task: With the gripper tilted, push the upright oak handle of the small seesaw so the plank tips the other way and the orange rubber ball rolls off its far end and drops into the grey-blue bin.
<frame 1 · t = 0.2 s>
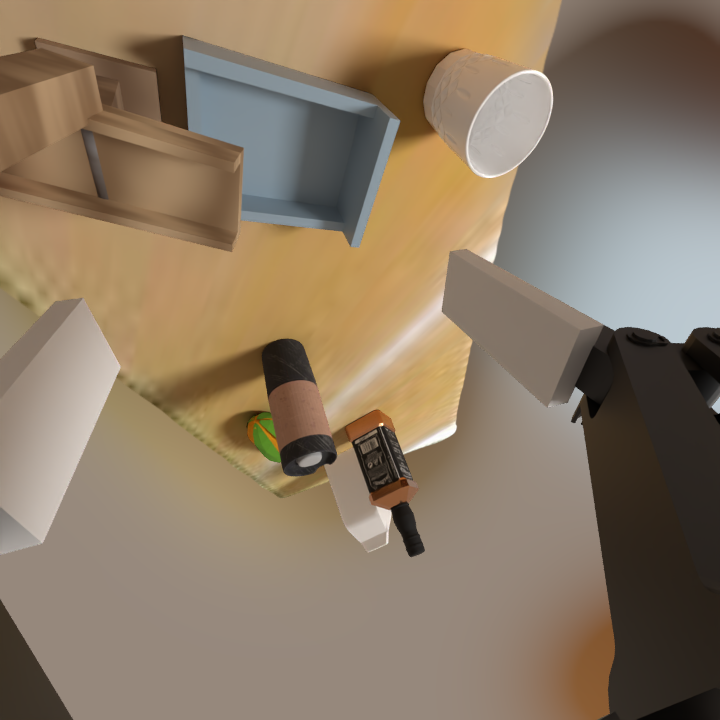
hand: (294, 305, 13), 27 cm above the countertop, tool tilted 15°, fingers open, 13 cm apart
whiskey bottle: (367, 422, 90), on the countertop
corn: (271, 424, 75), on the countertop
fulcrum: (111, 110, 27), on the countertop
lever: (42, 176, 18), point 14 cm above the countertop, hinge at -18.1°, touching ball
milk: (348, 457, 105), on the countertop
travel mug: (283, 352, 57), on the countertop
white cup: (452, 92, 34), on the countertop
bin: (279, 145, 33), on the countertop
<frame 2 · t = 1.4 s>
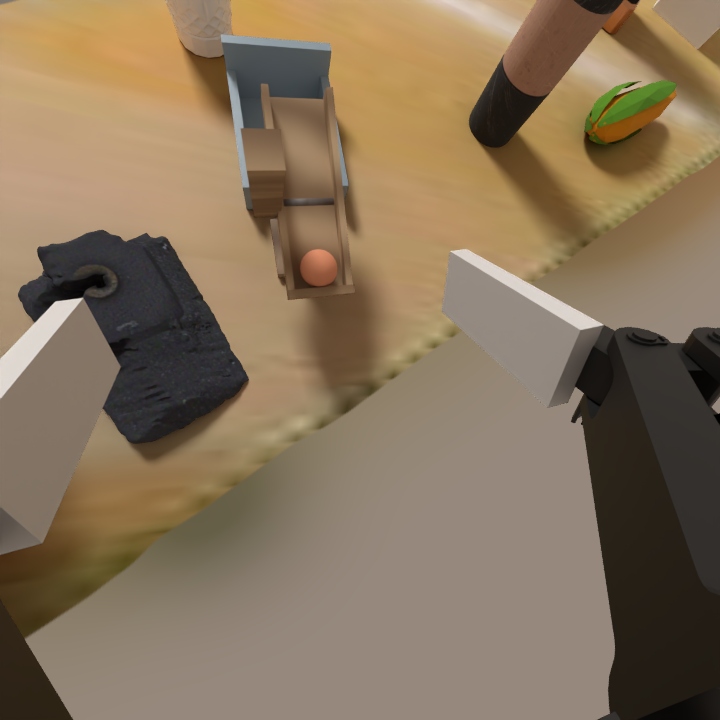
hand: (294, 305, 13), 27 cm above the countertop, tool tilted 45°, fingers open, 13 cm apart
whiskey bottle: (599, 5, 62), on the countertop
ball: (318, 268, 32), point 9 cm above the countertop, tilted 15°, touching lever
corn: (612, 126, 58), on the countertop
fulcrum: (303, 248, 42), on the countertop
dark slate chunk: (144, 336, 37), on the countertop
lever: (305, 183, 28), point 14 cm above the countertop, hinge at -18.1°, touching ball
milk: (682, 15, 67), on the countertop
travel mug: (489, 128, 52), on the countertop
white cup: (206, 38, 44), on the countertop
bin: (287, 150, 43), on the countertop
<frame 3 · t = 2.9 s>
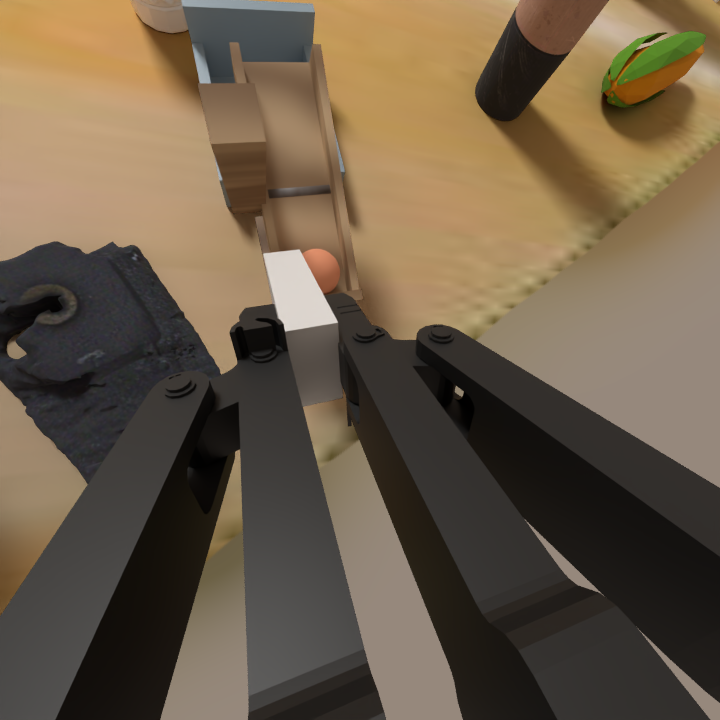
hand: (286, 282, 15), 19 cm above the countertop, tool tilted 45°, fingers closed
ball: (317, 272, 26), point 9 cm above the countertop, tilted 15°, touching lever
corn: (631, 89, 52), on the countertop
dark slate chunk: (116, 366, 31), on the countertop
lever: (293, 165, 22), point 14 cm above the countertop, hinge at -18.1°, touching ball
travel mug: (498, 99, 45), on the countertop
white cup: (167, 11, 38), on the countertop
bin: (270, 136, 37), on the countertop
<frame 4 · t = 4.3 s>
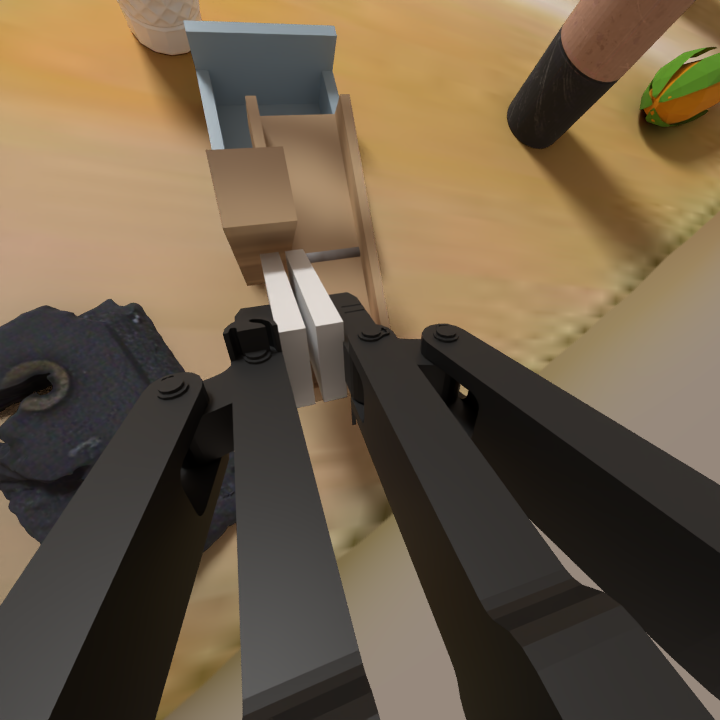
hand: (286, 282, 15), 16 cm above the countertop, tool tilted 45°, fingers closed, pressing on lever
corn: (671, 107, 47), on the countertop
dark slate chunk: (114, 444, 27), on the countertop
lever: (322, 234, 18), point 14 cm above the countertop, hinge at -12.4°, touching ball, gripper
travel mug: (531, 124, 41), on the countertop
white cup: (168, 29, 34), on the countertop
bin: (283, 172, 33), on the countertop
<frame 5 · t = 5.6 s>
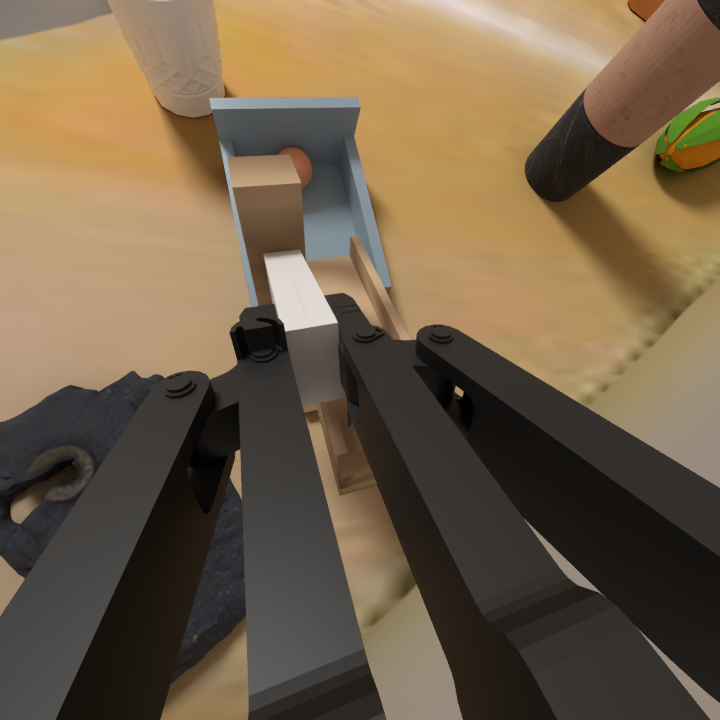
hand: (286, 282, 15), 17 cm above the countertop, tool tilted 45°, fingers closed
whiskey bottle: (659, 10, 52), on the countertop
ball: (293, 169, 32), point 2 cm above the countertop, tilted 178°, touching bin
corn: (686, 151, 47), on the countertop
dark slate chunk: (135, 520, 27), on the countertop
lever: (340, 284, 18), point 14 cm above the countertop, hinge at 27.6°, touching gripper
travel mug: (549, 176, 41), on the countertop
white cup: (189, 91, 34), on the countertop
bin: (303, 234, 33), on the countertop
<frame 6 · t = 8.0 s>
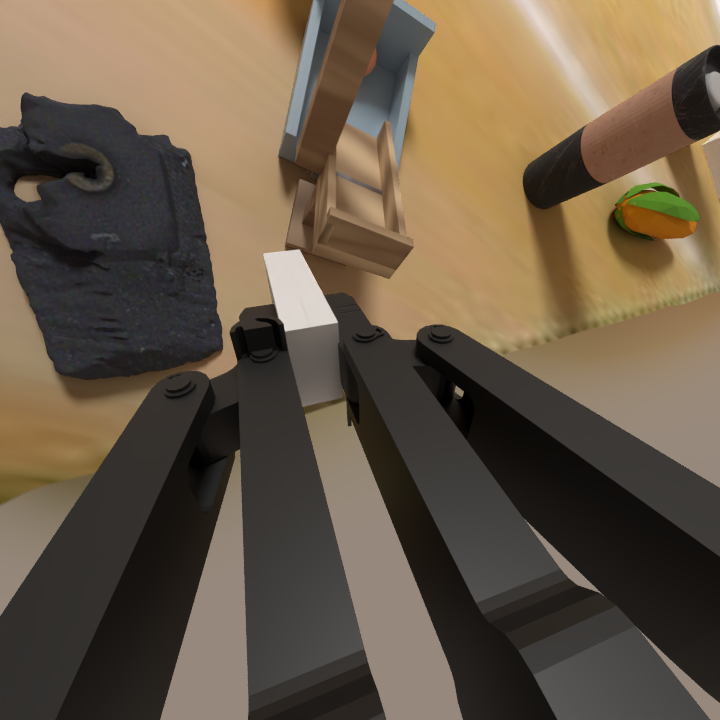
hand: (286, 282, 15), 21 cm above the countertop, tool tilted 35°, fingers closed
ball: (360, 56, 37), point 2 cm above the countertop, tilted 173°, touching bin
corn: (635, 223, 61), on the countertop
fulcrum: (322, 225, 37), on the countertop
dark slate chunk: (119, 254, 30), on the countertop
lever: (374, 117, 24), point 14 cm above the countertop, hinge at 27.8°
travel mug: (538, 186, 51), on the countertop
bin: (344, 112, 38), on the countertop
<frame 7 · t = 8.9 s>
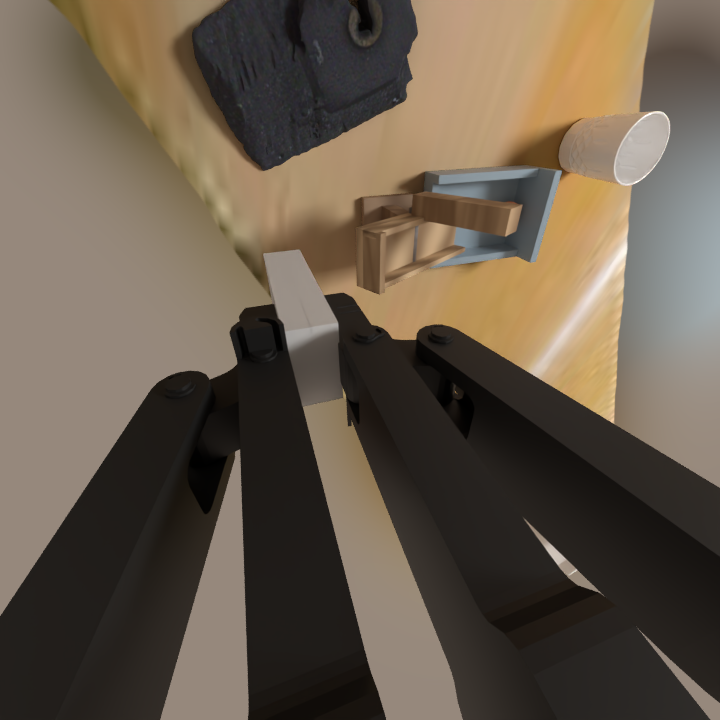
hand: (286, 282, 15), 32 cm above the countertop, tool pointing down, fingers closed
fulcrum: (385, 222, 48), on the countertop
dark slate chunk: (309, 58, 36), on the countertop
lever: (452, 242, 37), point 14 cm above the countertop, hinge at 27.8°
milk: (511, 482, 106), on the countertop
white cup: (576, 145, 50), on the countertop
bin: (469, 213, 51), on the countertop
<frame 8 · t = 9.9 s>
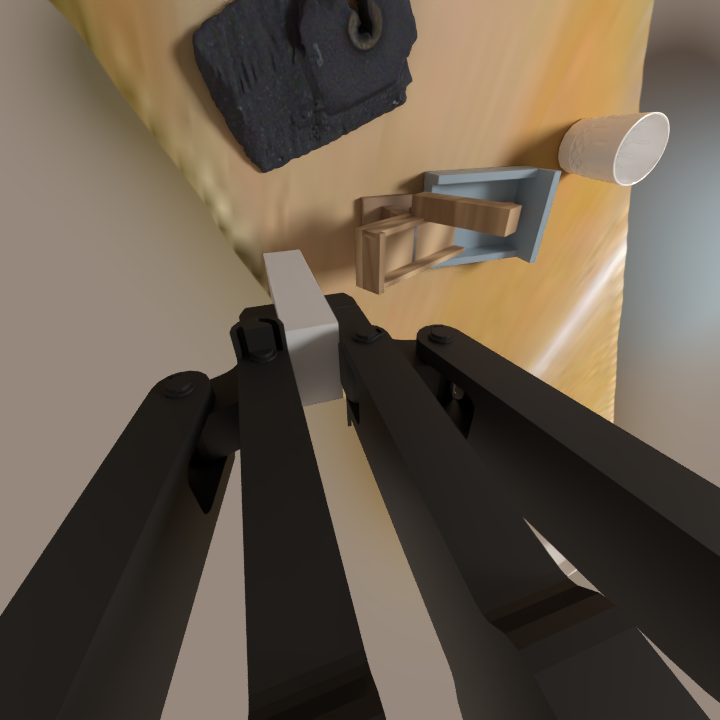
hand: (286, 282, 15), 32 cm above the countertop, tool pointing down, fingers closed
fulcrum: (385, 222, 48), on the countertop
dark slate chunk: (309, 61, 36), on the countertop
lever: (452, 242, 37), point 14 cm above the countertop, hinge at 27.8°
milk: (511, 483, 106), on the countertop
white cup: (576, 146, 50), on the countertop
bin: (469, 214, 51), on the countertop
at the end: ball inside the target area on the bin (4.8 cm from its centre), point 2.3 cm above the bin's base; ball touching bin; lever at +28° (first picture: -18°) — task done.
